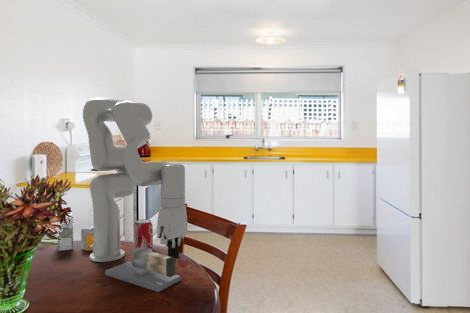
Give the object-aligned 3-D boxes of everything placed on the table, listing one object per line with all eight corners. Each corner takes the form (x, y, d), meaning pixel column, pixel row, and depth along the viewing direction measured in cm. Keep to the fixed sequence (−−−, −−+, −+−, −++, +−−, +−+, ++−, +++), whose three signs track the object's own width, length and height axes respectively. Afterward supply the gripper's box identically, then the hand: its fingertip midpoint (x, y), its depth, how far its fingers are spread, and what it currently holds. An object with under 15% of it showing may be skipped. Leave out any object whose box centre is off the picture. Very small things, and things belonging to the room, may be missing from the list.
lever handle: (127, 266, 114) (127, 251, 113) (143, 261, 119) (143, 245, 119) (165, 279, 104) (165, 262, 104) (180, 272, 109) (180, 256, 109)
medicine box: (90, 250, 141) (90, 229, 141) (81, 249, 142) (80, 228, 142) (102, 244, 149) (102, 224, 148) (92, 243, 150) (92, 223, 149)
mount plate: (105, 274, 117) (105, 262, 117) (128, 265, 125) (128, 253, 125) (158, 292, 104) (158, 277, 104) (180, 280, 113) (180, 267, 113)
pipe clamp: (119, 247, 146) (119, 231, 145) (116, 250, 141) (116, 235, 141) (90, 246, 145) (90, 231, 145) (85, 250, 141) (85, 234, 140)
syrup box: (73, 245, 147) (72, 211, 146) (73, 250, 142) (72, 214, 141) (58, 247, 145) (57, 212, 144) (57, 252, 139) (56, 216, 139)
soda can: (148, 253, 138) (147, 223, 137) (131, 252, 140) (131, 222, 139) (155, 248, 145) (155, 219, 144) (139, 246, 146) (139, 218, 146)
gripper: (179, 197, 121) (179, 250, 122) (147, 204, 108) (148, 263, 109) (196, 199, 117) (196, 254, 118) (165, 207, 104) (166, 268, 105)
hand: (173, 258), depth 114 cm, fingers closed
